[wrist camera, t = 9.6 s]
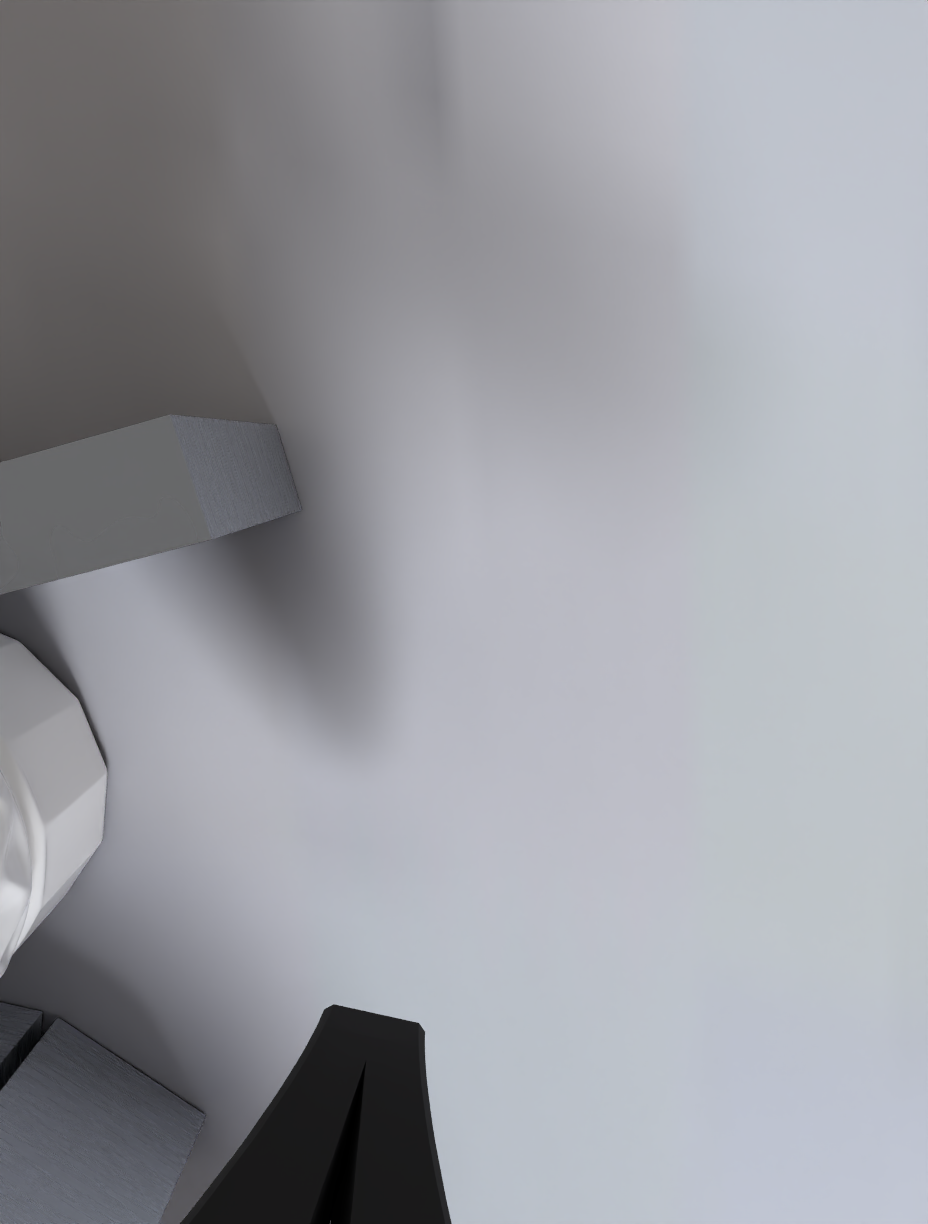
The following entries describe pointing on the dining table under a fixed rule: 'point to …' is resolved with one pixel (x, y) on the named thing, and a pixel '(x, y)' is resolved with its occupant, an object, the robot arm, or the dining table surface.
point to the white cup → (42, 794)
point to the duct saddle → (47, 551)
